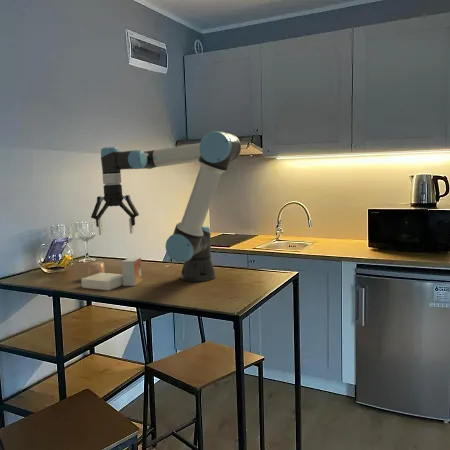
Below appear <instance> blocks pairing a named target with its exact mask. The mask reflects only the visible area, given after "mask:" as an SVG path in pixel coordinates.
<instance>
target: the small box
mask: <svg viewBox="0 0 450 450" xmlns="http://www.w3.org/2000/svg"><path fill="white" fill-rule="evenodd" d="M121 272H122V273H121V274H122V277H123V285H122V286H124V287H125V286H129V287H133V286H134V287H135V286H137V285H138V284H140V283H142V282H143V278H142V277H143V276H142V258H141V257H128V258H126V259H124V260H122V261H121Z"/></svg>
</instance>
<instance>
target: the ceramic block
mask: <svg viewBox="0 0 450 450" xmlns="http://www.w3.org/2000/svg"><path fill="white" fill-rule="evenodd" d="M120 286H123V277H122V273H121V274H119V273H111V272H110V273H108V272H105V273H98V274H95V275H92V276H89V275H88V276H87V277H82V278H81V288H85V289H92V290H93V289H95V290H102V291H110V290H112V289H113V290H114V289H116V288H118V287H120Z"/></svg>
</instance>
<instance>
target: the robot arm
mask: <svg viewBox="0 0 450 450" xmlns="http://www.w3.org/2000/svg"><path fill="white" fill-rule="evenodd" d="M241 149H242V144H241V141H240V139H239V138H238V137H237V136H236V135H235V134H233V133H230V132H225V131H221V130H213V131H210V132H208V133H206V134H205V135H204V136H203V137H202V139H201V140H200V142H198V143H193V144H186V145H185V144H184V145H181V146H180V145H178V146H172V147H166V148H160V149H159V148H158V149H153V150H146V151H145V150H141V149H140V150H138V149H133V150H127V151H120V150H119V147H118V146H117V147H114V146H110V147H108V146H107V147H102V148H101V149H100V161H101V169H102V170H101V171H102V172H101V173H102V184H103V186H102V187H103V194H104V195H103V196H101V195H100V196H97V197H96V202H95V203H96V204H95V205H94V209H93V210H92V213H91V216H90V217H91V218H90V219H94V220H95V224H96V228H98V235H99V236H102V235H103V234H104V228H103V218H101V217H102V216H103V215H104V213H105V212H106V211H107V209H108V208H109V207H120V208H121V209H122V210H123V211H124V212H125V213H126V214H127V215H128V216H129V218H128V223H129V224H128V225H129V234H134V233H135V231H134V226H136V218H137V217H138V216H139V215H140V214H139V212H138V210H137V209H136V207H135V205H134V203H133V201H132V199H131V195H130V194H126V195H123V187H122V184H121V183H122V175H121V174H122V172H121V171H123V170H139V169H140V170H142V169H143V170H145V169H147V170H150V169H151V170H152V169H155V168H160V167H161V168H162V167H168V166H175V165H176V166H177V165H184V164H189V163H190V164H191V163H197V162H198V163H199V165H200V167H199V170H198V173H197V176H196V179H195V181H194V185H193V187H192V190H191V194H190V196H189V199H188V201H187V204H186V208H185V209H184V213H183V217H182V218H181V221H180V222H178V223H176V225H175V228H174V231H173V233H172V234H171V235H169V237H168V238H167V240H166V242H165V251H166V253H167V255H168V257H169V258H170V259H171V260H173V261H175V262H176V263H183V264H182V265H183V266H182V269H181V272H180V276H181V277H180V279H181V280H183V281H186V282H207V281H211V280H214V279H215V278H216V269H215V267H214V264H213V261H212V249H211V245H212V244H211V243H212V241H211V229H210V228H211V227H210V226H208V225H204V223H205V220H206V217H207V215H208V213H209V209H210V206H211V203H212V200H213V197H214V195H215V193H216V189H217V186H218V184H219V182H220V179H221V176H222V174H224V173H225V172H227V170H228V169H229V165H230V163H231V162H233V161H234V160H236V159H237V158H239V156H240V153H241V152H242V151H241ZM123 200H124V201H126V203H127V205H128V207H129V208H128V207H127V205H125V203H124V202H123ZM103 201H104V202H105V203H104V204H103V206H102V208H101V209H100V207H101V205H102V203H103Z"/></svg>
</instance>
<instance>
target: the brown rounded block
mask: <svg viewBox="0 0 450 450" xmlns="http://www.w3.org/2000/svg"><path fill="white" fill-rule="evenodd" d="M87 272H88V277H89V276H92V275H95V274H98V273H106V272H105V262H104V261H92V262H89V263H87Z"/></svg>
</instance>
